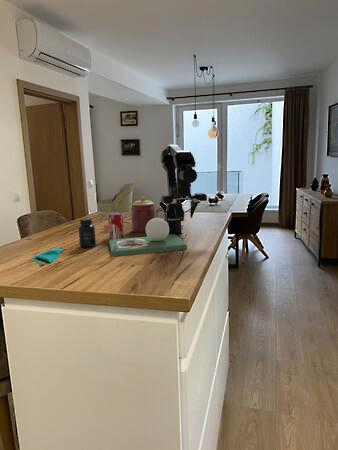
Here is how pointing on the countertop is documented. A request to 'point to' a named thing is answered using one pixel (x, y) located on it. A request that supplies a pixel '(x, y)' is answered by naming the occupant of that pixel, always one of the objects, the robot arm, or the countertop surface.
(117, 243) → the putting deck
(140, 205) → the canister
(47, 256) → the cloth
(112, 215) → the soda can
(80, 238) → the supplement bottle
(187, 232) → the countertop surface
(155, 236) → the ball
